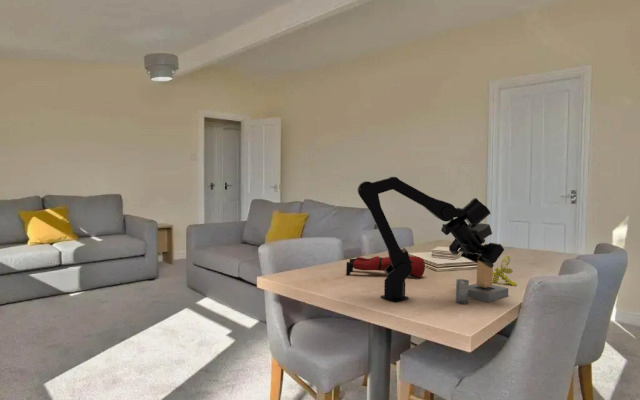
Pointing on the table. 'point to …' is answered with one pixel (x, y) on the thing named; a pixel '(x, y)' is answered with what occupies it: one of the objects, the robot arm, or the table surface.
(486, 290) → the socket plate
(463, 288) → the round bit
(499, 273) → the decorative insect
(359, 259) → the toy
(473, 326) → the table surface
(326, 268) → the table surface
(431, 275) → the table surface
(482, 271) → the square bit
